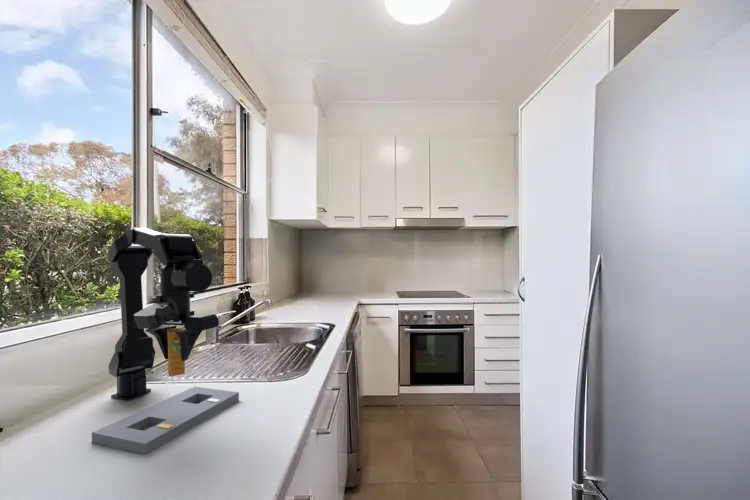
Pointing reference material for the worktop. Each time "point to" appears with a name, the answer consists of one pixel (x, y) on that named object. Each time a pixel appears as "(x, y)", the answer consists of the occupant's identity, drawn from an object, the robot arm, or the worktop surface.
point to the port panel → (164, 420)
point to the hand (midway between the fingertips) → (176, 359)
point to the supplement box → (175, 353)
